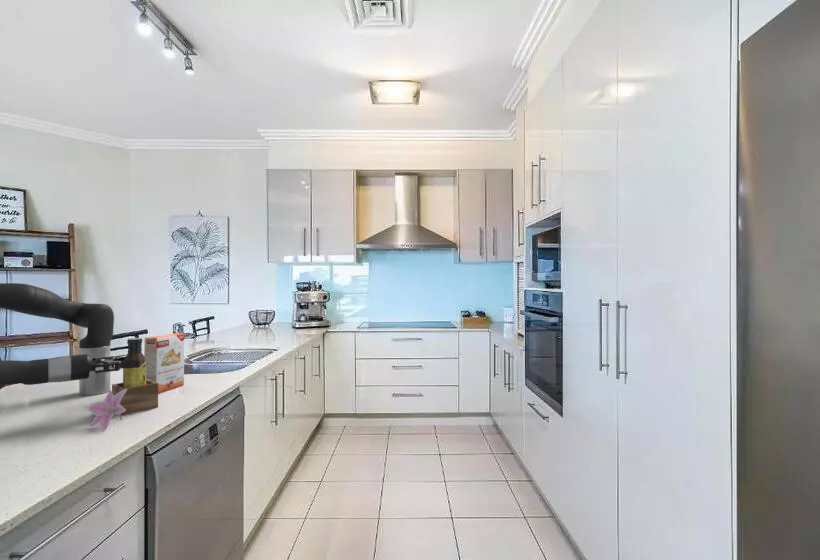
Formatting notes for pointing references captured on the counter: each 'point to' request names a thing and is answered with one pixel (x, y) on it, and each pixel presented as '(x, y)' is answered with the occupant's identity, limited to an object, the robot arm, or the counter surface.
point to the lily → (107, 409)
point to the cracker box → (165, 360)
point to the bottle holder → (138, 397)
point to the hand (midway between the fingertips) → (133, 361)
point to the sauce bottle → (137, 373)
